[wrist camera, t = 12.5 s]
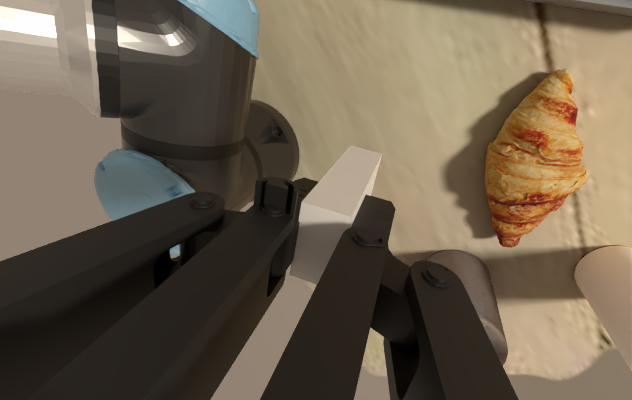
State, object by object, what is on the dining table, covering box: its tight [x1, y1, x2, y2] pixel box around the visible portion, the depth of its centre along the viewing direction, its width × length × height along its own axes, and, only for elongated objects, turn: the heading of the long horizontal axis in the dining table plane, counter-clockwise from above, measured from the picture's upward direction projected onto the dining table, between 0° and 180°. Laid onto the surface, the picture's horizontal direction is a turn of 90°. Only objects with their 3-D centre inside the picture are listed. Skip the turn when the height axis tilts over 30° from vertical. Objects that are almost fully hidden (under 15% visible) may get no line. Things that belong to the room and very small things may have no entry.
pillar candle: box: [426, 250, 508, 366], centre depth 42 cm, size 10×10×15 cm
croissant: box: [485, 69, 589, 247], centre depth 37 cm, size 21×10×8 cm
